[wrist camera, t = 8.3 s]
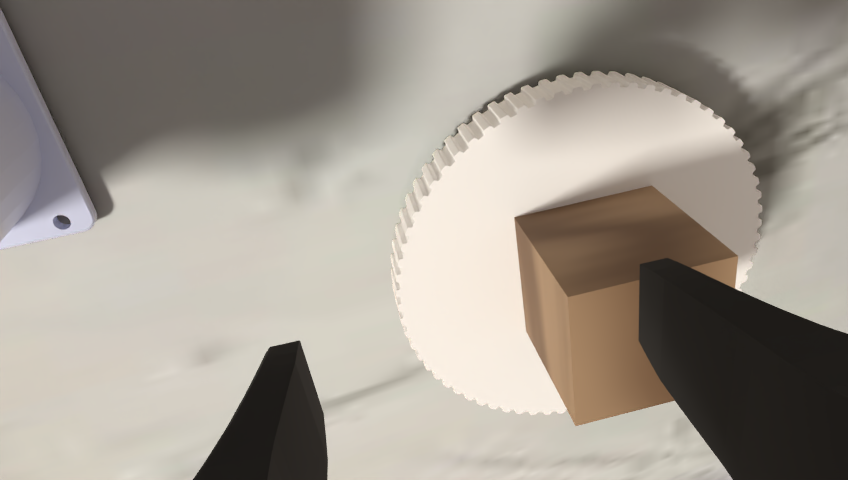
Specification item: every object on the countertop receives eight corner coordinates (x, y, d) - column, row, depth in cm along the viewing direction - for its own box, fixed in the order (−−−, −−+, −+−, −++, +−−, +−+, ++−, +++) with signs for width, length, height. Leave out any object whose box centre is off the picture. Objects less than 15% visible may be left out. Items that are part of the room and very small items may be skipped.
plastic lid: (582, 410, 30) (604, 450, 28) (322, 308, 25) (325, 348, 23) (788, 171, 26) (834, 197, 24) (525, -16, 21) (552, -5, 18)
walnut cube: (525, 331, 24) (575, 425, 20) (514, 217, 22) (567, 297, 17) (649, 301, 25) (725, 387, 20) (651, 185, 22) (738, 255, 18)
